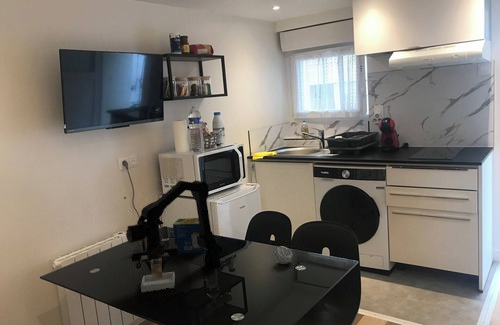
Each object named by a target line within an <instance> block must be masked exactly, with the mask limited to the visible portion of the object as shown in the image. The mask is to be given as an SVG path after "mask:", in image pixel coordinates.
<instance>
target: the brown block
mask: <svg viewBox="0 0 500 325" xmlns="http://www.w3.org/2000/svg"><path fill="white" fill-rule="evenodd" d="M151 271H152V273H151V275H152V279H155V278H162V276H163V273H164V271H163V272H162V258H159V259H153V260H151ZM151 271H150V272H151Z"/></svg>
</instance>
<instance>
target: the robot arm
mask: <svg viewBox="0 0 500 325" xmlns="http://www.w3.org/2000/svg"><path fill="white" fill-rule="evenodd" d="M209 187H210V186H209V185H208V183H207V182H206V181H201V180H193V181H184V180H179V181H177V183H176V184H175V185H173V186H172V187H171V188H170V189H168V191H166V192H165V193H164V194H163V195H162V196H160V198H158V199H157V200H156V201H154V202H150V203H149V204H147V205H145V206H143V208H142V209H141V213H140V215H139V218H138V220H137V221H136V224H133V225H127V227H126V228H127V229H126V232H125V236H126V240H127V242H128V243H129V244H133V243H138V241H140V240H144V239H145V238H146V241H147V248H146V250H147V251H146V252H145V251H143V252H142V250H139V249H135V250H133V251H132V253H131V255H130V256H131V257H130V258H131V261H132V262H136V261H137V262H138V261H141V263H142V262H143V263H144V264H145V265H146V266H147V267H148V270H149V271H150V273H151V274H152V271H151V261H152V260H154V259H162V272H163V273H164V269H165V264H166V262H167V259H170V257H174V256H178V255H179V254H178V246H177V245H175V244H174V245H168V246H167V248H165V247H164V245H162V240H161V230H160V226H161V225H163V224H164V221H162V220H161V219H160V218H161V216H162V215H163V214H164V211H165V209H167V208H168V206H169V205H171V204H172V203H173V202H174V201H175V200H177V198H179V197H180V196H181V195H182V194H183V193H184V192H186V191H188V192H191V196H192V197H193V199H194V200H195V205H196V212H197V218H198V219H199V226H200V234H199V236H196V237H197V244H198V245H199V247H200V248H202V250H203V251H205V253H204V265H205V266H206V268H207V269H209V268H217V267H220V266H222V263H221V257H220V254H221V253H222V251H223V247H222V246H221V245H219V244H218V243H217V239H216V237H215V235H214V233H213V231H212V228H211V227H212V226H211V221H210V213H209V206H208V198H209V195H210V193H209V191H210V190H209Z"/></svg>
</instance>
